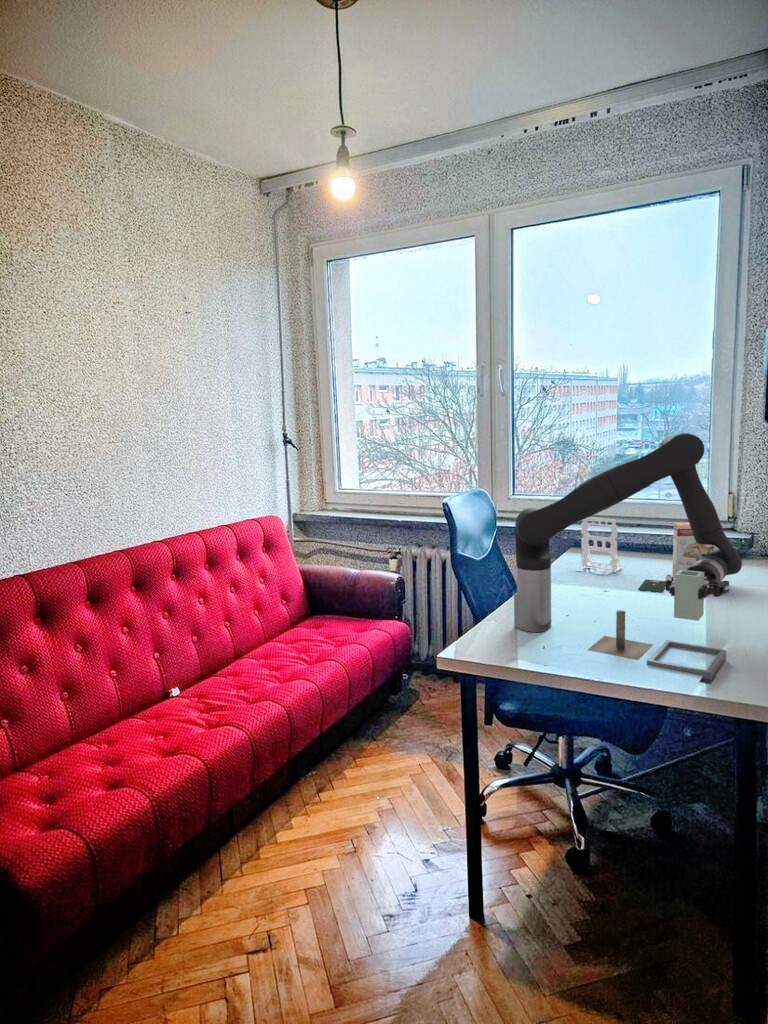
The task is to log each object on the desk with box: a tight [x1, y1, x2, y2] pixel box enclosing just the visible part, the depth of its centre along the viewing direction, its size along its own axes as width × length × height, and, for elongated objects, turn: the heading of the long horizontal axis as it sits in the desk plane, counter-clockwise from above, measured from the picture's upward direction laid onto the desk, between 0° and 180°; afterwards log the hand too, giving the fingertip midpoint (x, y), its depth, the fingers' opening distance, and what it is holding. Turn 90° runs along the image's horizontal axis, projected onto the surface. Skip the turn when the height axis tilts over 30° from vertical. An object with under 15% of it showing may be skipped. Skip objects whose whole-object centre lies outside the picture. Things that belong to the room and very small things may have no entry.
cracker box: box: [671, 522, 724, 578], centre depth 210 cm, size 14×6×21 cm, turn 76°
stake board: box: [587, 609, 654, 660], centre depth 151 cm, size 12×12×10 cm
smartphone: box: [637, 579, 666, 594], centre depth 210 cm, size 8×15×1 cm, turn 148°
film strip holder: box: [574, 516, 623, 576], centre depth 235 cm, size 14×14×20 cm
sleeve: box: [673, 570, 705, 622], centre depth 140 cm, size 5×5×10 cm
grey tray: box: [646, 639, 727, 685], centre depth 143 cm, size 13×16×2 cm
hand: (686, 593), depth 138 cm, fingers closed on sleeve, 5 cm apart
